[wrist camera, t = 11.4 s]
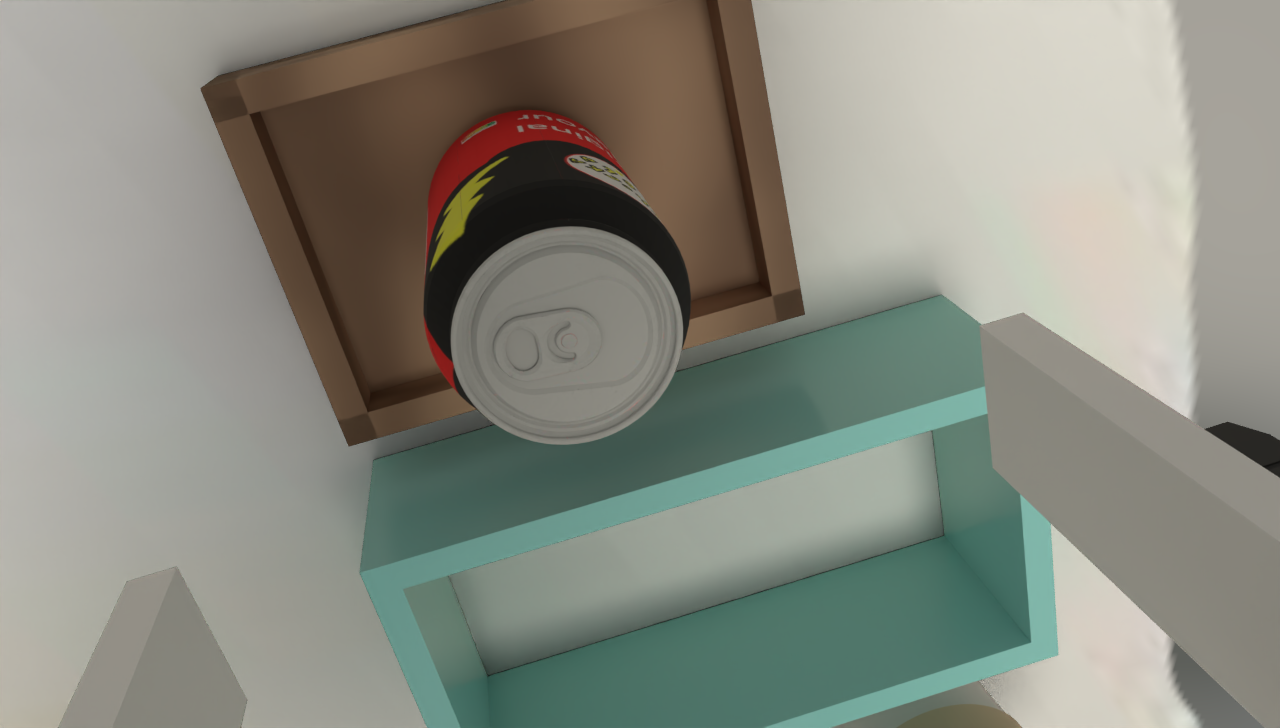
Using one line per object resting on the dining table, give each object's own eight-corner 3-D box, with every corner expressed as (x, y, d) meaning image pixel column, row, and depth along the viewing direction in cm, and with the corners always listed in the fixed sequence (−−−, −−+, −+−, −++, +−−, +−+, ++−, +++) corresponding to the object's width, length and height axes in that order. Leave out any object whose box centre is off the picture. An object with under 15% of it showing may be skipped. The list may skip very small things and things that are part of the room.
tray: (354, 413, 36) (348, 446, 34) (217, 75, 31) (200, 88, 28) (782, 290, 37) (804, 314, 35) (720, -56, 32) (741, -54, 30)
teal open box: (471, 701, 42) (476, 840, 36) (373, 460, 37) (359, 573, 30) (968, 547, 43) (1058, 654, 37) (942, 294, 38) (1041, 369, 32)
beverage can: (635, 273, 35) (724, 436, 24) (452, 310, 34) (458, 494, 23) (606, 87, 32) (691, 175, 21) (407, 123, 31) (389, 233, 20)
